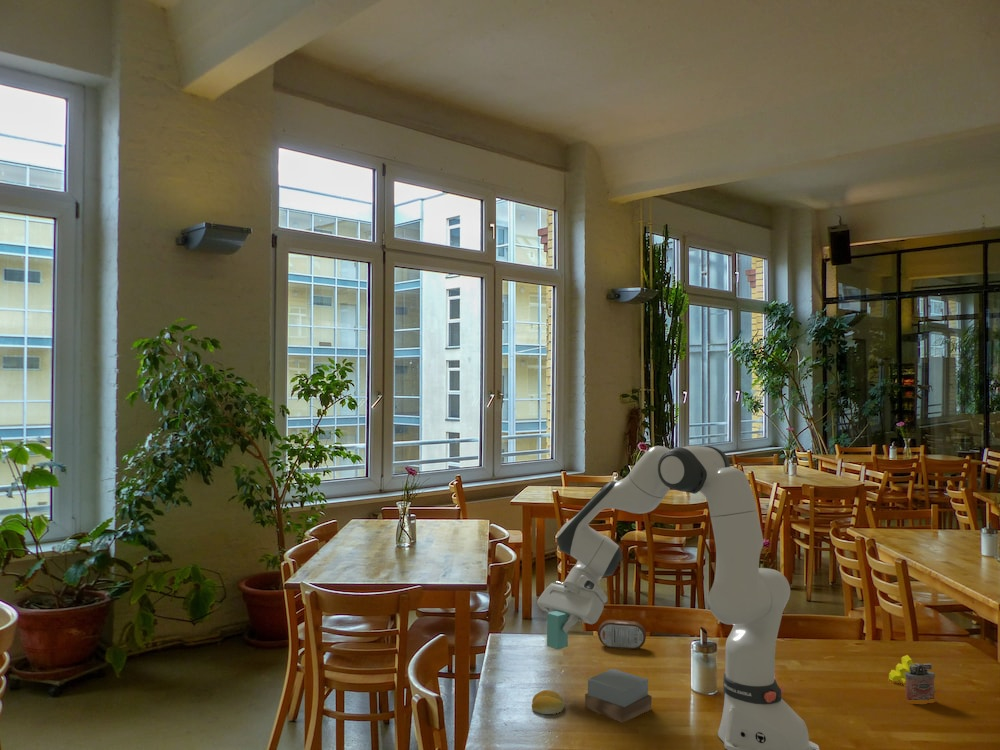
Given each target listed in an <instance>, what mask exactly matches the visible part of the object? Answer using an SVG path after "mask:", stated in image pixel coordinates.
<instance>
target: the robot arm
mask: <svg viewBox="0 0 1000 750" xmlns="http://www.w3.org/2000/svg"><path fill="white" fill-rule="evenodd" d="M670 489H672V490H674V491H679V492H683V493H684V492H685V493H689V494H697V493H699V492H700V493H701V494H702V495H703V496H704V498H705V499H706V502H707V505H708V509H709V516H710V521H711V527H712V533H713V539H714V543H715V552H716V554H715V555H716V558H715V571H714V579H713V583H712V586H711V587H710V590H709V592H708V597H707V603H708V604H707V605H708V608H709V610H710V612H711V613H712V615H713V616H714V618H715V619H716V620H717V621H718V622H720V623H722V624H725V625H730V626H731V625H732V629H731V631H730V633H729V635H728V637H727V638H726V641H725V672H724V674H723V681H722V682H723V683H722V684H723V688H722V690H723V696H724V699H723V700H724V701H723V709H722V714H721V715H722V716H721V720H720V725H719V728H718V731H717V736H718V737H719V739H720V740H721V741H722V742H723V746H724V749H726V750H820V747H819V745H818V744H817V743H815V742H813V741H811V740H810V737H809V736H810V735H809V730H808V727H807V724H806V722H805V721H804V720H803V718H801V716H800V715H798V713H796V712H795V710H793V708H792V707H791V706H790V705H789V704H788V703H787V702H786V701H785V700H784V699H783V698H782V697H783V696H782V693H783V692H785V691H786V690H785V688H786V686H785V685H783V686H782V687H780V686H779V685H778V683H777V680H776V679H775V665H776V663H775V662H776V661H775V659H776V647H777V646H776V645H777V639H778V635H779V631H780V630H779V629H780V626H781V621H782V617H783V614H784V609H785V608H786V605H787V604H788V602H789V600H790V597H791V585H790V582H789V580H788V579H787V577H786V576H785V575H784V574H783V573H781V572H780V571H779V570H776V569H773V568H768V567H767V568H766V567H760V557H761V552H762V550H763V547H764V536H763V532H762V527H761V526H762V525H761V521H760V517H759V512H758V508H757V503H756V500H755V496H754V494H753V489H752V487H751V484H750V482H749V480H748V477H747V475H746V473H745V472H744V471H742V470H741V469H740V468H736V467H731V464H730V460H729V458H728V456H727V455H726V453H725V452H723V451H722V450H721V449H719V448H717V447H714V446H709V445H706V446H700V445H687V446H681V447H680V446H679V447H673V448H671V449H670V448H669V447H667V446H662V445H655V446H652V447H650V448H648V449H647V451H645V453H644V454H642V456H641V457H640V458H639V459H638V460H637V462H636V463H635V464H634V466H633V467H632V468H631V470H630V471H629V473H628V474H627V475H626V476H625V477H624V478H622V479H620V480H618V481H614V480H611V481H609V482H608V483H607V482H606V484H604V485H603V486H602V487H601V488H600V489H599V490H598V491H597V492H596V493H595V494H594V495H593V496H592V497H591V498H590V499H589V500H588V501H587V502H586V504H585V505H584V506H583V507H581V508H580V510H579V511H578V512H577V513H576V514H575V515H573V517H572V518H570V519H569V520H568V521H567V522H565V523H564V524H562V526H561V528H560V529H559V531H558V533H557V536H556V542H557V545H558V548H559V550H560V552H562V553H564V554H566V555H568V556H569V557H572V558H573V559H575V560H577V561H576V563H575V564H574V566H573V567H572V568H571V569H570V571H569V573H568V574H567V576H566V578H565V580H564V581H563V582H561V581H559V580H555V581H554V582H551V583H550V584H548V586H547V587H546V588H545V589H544V590H543V592H542V593H541V594H540V595H539V597H538V599H537V601H536V602H537V605H538V607H539V609H540V610H542V611H544V612H546V613H549V612H553V611H556V610H557V611H561V612H564V613H568V621H567V622H566V623H562V626H561V627H560V629H561V630H562V631H563V632H566V633H567V632H569V630H570V628H572V627H573V626H575V625H576V624H577V622H582V623H585V624H588V625H593V624H596V623H597V622H598V620H599V619H600V616H601V615H602V612H603V610H604V604H606V603H607V601H608V599H609V598H608V596H607V595H606V593H605V592H604V591H603V589H602V588H601V587H600V586H599V585H600V582H601V579H602V578H605V577H606V578H607V577H609V576H613V575H614V574H615V572H616V569H617V567H618V565H619V563H620V562H621V560H622V559H623V552H622V549H621V547H620V546H619V545H618V544H617V542H615V541H613V539H612V538H611V537H609V536H607V535H605V534H602V533H600V532H599V531H597V530H596V529H594V528H592V527H591V526H590V525H589V524H590V522H592V521H593V519H594V518H596V516H598V514H600V512H601V511H603V510H606V509H607V510H608V509H613V510H620V511H624V512H627V513H631V514H637V515H638V514H647V513H650V512H652V511H653V512H654V511H655V509H656V508H657V507H658V506H659V505H660V504H661V503H662V501H663V500H664V499H665V497H666V496H667V494H668V493H669V491H670ZM545 626H546V627H547V621H546V622H545Z"/></svg>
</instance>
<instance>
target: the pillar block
mask: <svg viewBox="0 0 1000 750" xmlns="http://www.w3.org/2000/svg"><path fill="white" fill-rule="evenodd" d="M568 620H569V618H568V613H564V612H561V611H557V610H556V611H553V612H549V613H548V612H546V622H547V626H546V647H547V648H548V647H549V648H551V649H554V650H562V649H564V648H567V647H569V646H568V645H569V641H568V639H569V636H568V635H569V633H568V632H569V631H568V632H567V633H566V632H563V631H562V630H561V629H560V627H561V626H562V623H566V622H567V621H568Z"/></svg>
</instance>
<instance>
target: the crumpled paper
mask: <svg viewBox="0 0 1000 750" xmlns="http://www.w3.org/2000/svg"><path fill="white" fill-rule="evenodd" d="M915 663H916V662H913V660H912V657H910V656H909V655H908V654H906V655H904V656H901V663H897V664H896V666H895V669H891V670H890V672H889V673H888V680H889V679H890V680H892V681H898V680H900V681H901V682H903V683H906V677H905V673H906V672H910V665H914V664H915Z"/></svg>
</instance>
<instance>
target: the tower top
mask: <svg viewBox="0 0 1000 750" xmlns="http://www.w3.org/2000/svg"><path fill="white" fill-rule="evenodd" d="M587 693H588V695H589V696H592V697H595V698H598V699H601V700H604V701H607V702H610V703H613V704H616V705H619V706H622V707H626V706H628V705H630V704H632V703H634V702H635V701H637V700H639V699H641V698H643V697H645V696H647V695H649V679H648V678H645V677H641V676H638V675H635V674H631V673H629V672H625V671H623V670H622V671H621V670H619V669H615V668H610V669H608V670H605V671H604V672H601V673H600V674H597V675H594V676H592V677H590V678H588V679H587Z"/></svg>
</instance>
